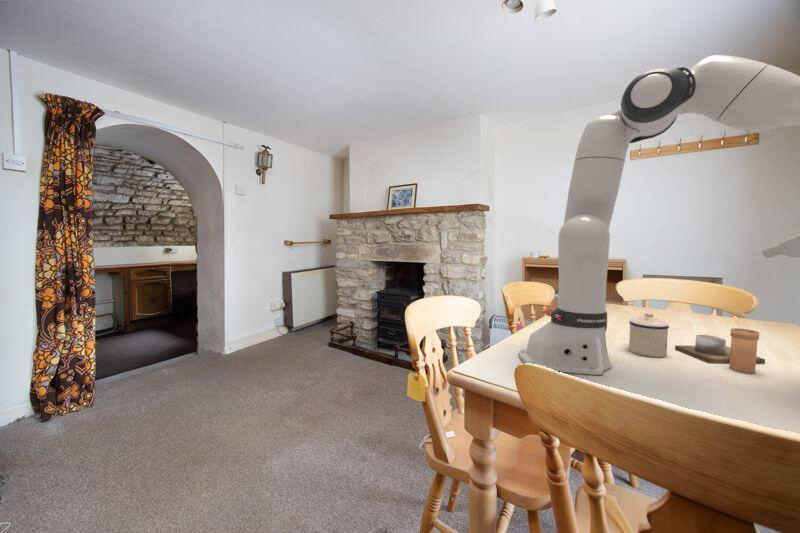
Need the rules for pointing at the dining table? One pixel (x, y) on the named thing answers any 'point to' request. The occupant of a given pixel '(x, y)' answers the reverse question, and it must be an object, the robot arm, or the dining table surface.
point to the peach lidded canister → (743, 350)
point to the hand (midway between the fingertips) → (775, 249)
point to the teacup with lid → (648, 336)
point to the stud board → (711, 357)
